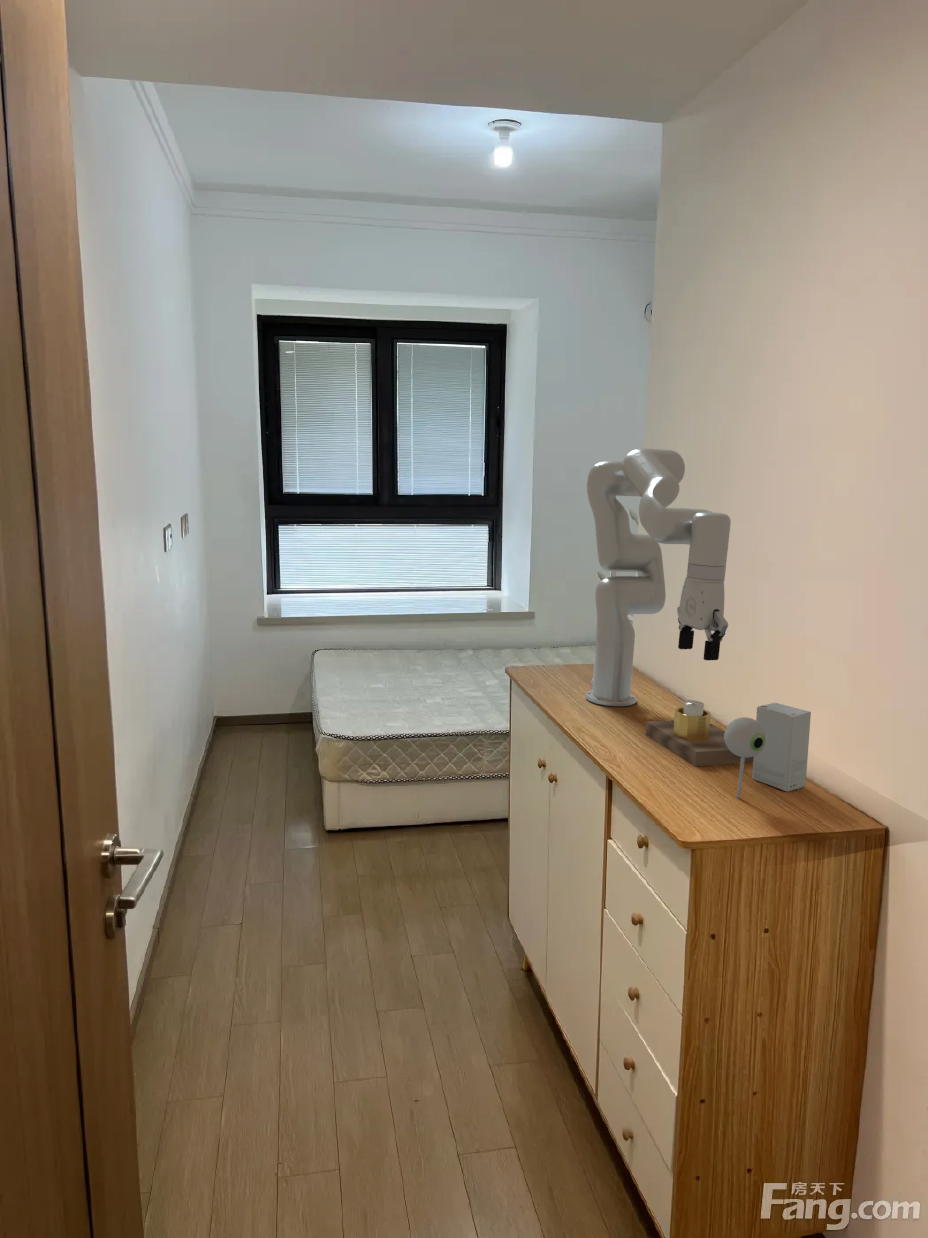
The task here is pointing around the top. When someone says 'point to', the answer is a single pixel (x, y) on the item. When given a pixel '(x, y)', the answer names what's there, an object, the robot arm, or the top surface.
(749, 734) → the lollipop
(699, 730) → the brass ring
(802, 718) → the skincare box
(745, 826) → the top surface
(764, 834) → the top surface
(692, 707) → the piston post
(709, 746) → the walnut stand
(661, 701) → the top surface
